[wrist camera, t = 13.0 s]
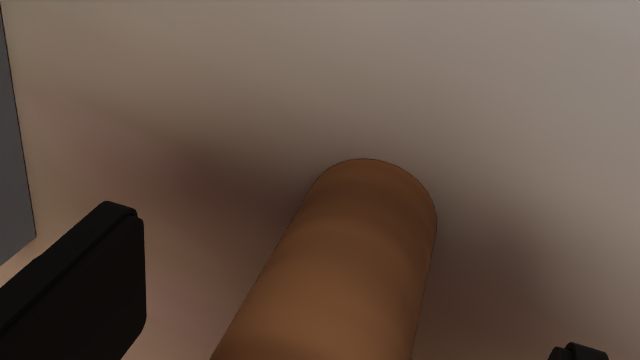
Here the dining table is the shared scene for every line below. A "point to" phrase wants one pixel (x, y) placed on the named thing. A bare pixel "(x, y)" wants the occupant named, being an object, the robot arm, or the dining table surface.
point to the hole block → (11, 170)
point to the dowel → (342, 272)
